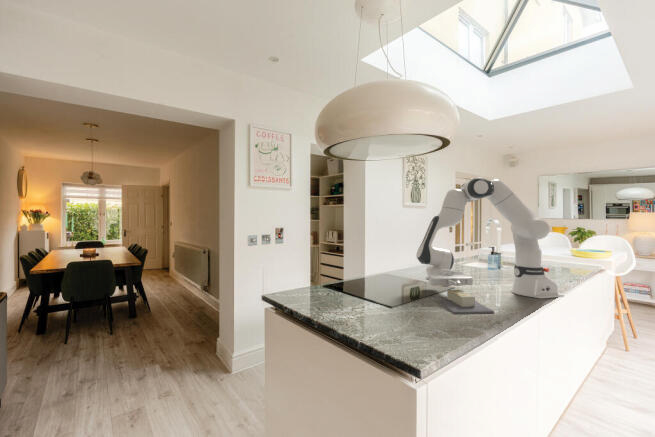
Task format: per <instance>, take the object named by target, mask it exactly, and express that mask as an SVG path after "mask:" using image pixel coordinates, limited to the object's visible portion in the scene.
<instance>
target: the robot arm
mask: <svg viewBox="0 0 655 437" xmlns="http://www.w3.org/2000/svg"><path fill="white" fill-rule="evenodd" d="M484 198H485V199H487V200H488V201H489V202H490V203H491V205H493V207H495V209H496V210H497V211H498V213H500V215H501V216H502V217H503V218H504V219H505V220H507V221H508V222H509V223H510V230H511V233H512V238H513V242H514V249H515V251H514V253H515V262H514V263H515V264H514V265H513V272H514V278H513V284H512V286H511V287H512V288H511V290H510V292H511V293H512V294H515V295H519V296H524V297H529V298H536V299H551V298H563V297H564V296H565V294H563V293H562V292H560V291H559V288H558V285H557V283H556V281H554V280H553V279H552V278H550V277H549V276H547V275H546V273H549V272H550V269H549V267H548V268H547V267H543V266H542V249H541V247H540V244H539V241H538V240H541V239H544V238H546V237H548V235H549V233H550V231H551V230H550V229H551V228H550V225H549V223H547V222H546V220H544V219H542V218H541V217H540V216H539V215H538V214H536V213H535V212H534V211H533V210H532V209H530V208H529V206H527V205H526V204H525V203H524V202H523V201H522V200H521V199H520V198H519V197H518V195H517V194H516V193H515V192H514V191H513V190H512V188H510V187H509V185H507V184H506V183H505V182H504V181H502V180H501V179H498V178H495V179H492V180H488V179H486V178H484V177H474V178H472V179H469V180H467V181H466V182H465V183H463V184H462V185H461V186H460V187H459V188H452V189H449V190H448V191H447V192H446V195H445V196H444V199H443V203H442V205H441V210H440V211H439V213H438V214H437V215H434V217H433V218H432V220H431V221H430V223H429V224H428V225H429V226H428V227H427V229H426V232H425V235H424V236H423V239H422V241H421V242H420V243H421V244H420V245H419V247H418V249H417V252H416V259H417V260H418V261H419V263H420V264H423V265H427V267H426V268H425V269H426V270H425V272H426V277H425V280H426V281H428V283H429V285H431V286H441V287H442V288H443V287H444V288H447V287H451V286H454V287H461V286H472V285H473V284H474V278H473V277H472V276H471V275H470V274H467V273H464V272H463V271H461V270H456V269H453V267H454V263H455V257H454V254H453V252H452V251H451V250H449V249H445V248H439V247H437V246H436V247H435V246H433V245H432V244H433V241H434V239H435V237H436V235H437V233H438V231H439V230H440V229H443V228H444V229H445V228H451V227H454V226H457V225H458V224H460V222H462V220H463V218H464V213H465V208H466V205H467V203H469V202H475V201H480V200H481V199H484ZM564 298H565V297H564Z"/></svg>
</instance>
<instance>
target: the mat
mask: <svg viewBox="0 0 655 437" xmlns="http://www.w3.org/2000/svg"><path fill="white" fill-rule="evenodd" d="M437 303H439V304H440V305H441V306H442V307H444V308H445V309H446V310H448V311H449V312H450V313H451V314H454V315H467V314H470V315H471V314H475V315H476V314H478V315H479V314H495V311H494V310H492V309H491V308H489V307H487V306H485V305H484V304H482V303H479V301H476V300H475V306H472V307H461V306H460V305H458V304H456V303H454V302H452V301H451V300H449V299H443V300H441V299H440V300H439V299H438V300H437Z"/></svg>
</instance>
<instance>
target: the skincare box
mask: <svg viewBox="0 0 655 437" xmlns="http://www.w3.org/2000/svg"><path fill="white" fill-rule="evenodd" d="M446 295H447V296H446V297H447V299H446V300H451V301H452V302H454V303H456V304H458V305H460V306H461V307H472V306H475V301H476V297H475V296H474V295H472V294H469V293H468V292H465V291H462V290H461V289H447V291H446Z"/></svg>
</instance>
